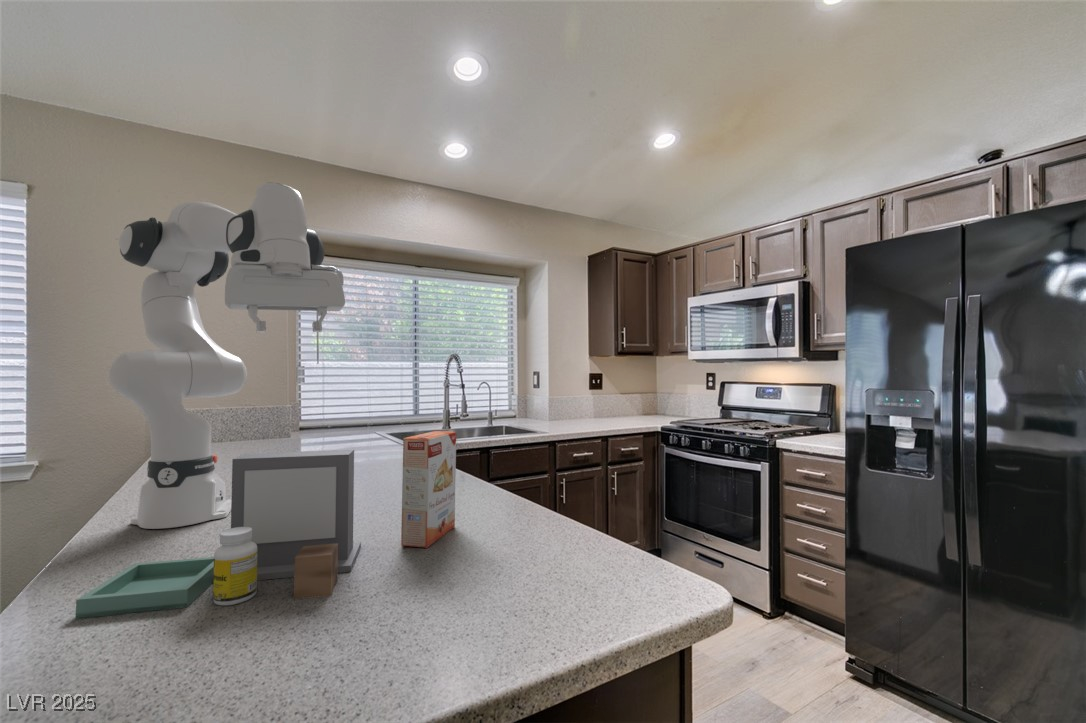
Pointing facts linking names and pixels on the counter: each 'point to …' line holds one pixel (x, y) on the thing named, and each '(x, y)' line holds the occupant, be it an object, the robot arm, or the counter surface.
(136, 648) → the counter surface
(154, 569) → the tray
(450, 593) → the counter surface
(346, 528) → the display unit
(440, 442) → the cracker box
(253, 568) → the supplement bottle
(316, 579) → the walnut block
